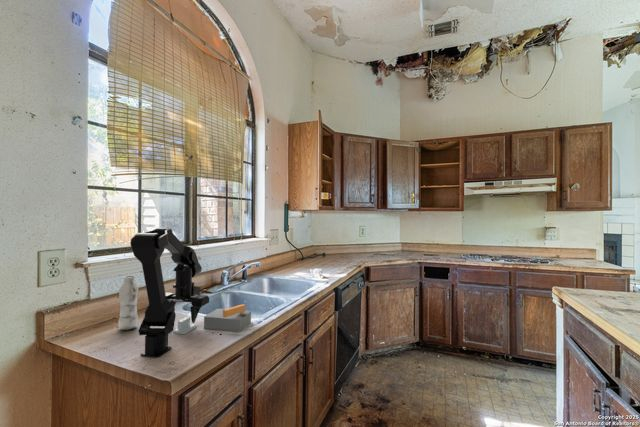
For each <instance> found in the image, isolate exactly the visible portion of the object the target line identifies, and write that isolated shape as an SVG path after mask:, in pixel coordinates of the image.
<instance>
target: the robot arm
mask: <svg viewBox="0 0 640 427" xmlns="http://www.w3.org/2000/svg"><path fill="white" fill-rule="evenodd" d="M129 243H130V245H129V246H130V247H131V250H132V253H133V256H134V257H135V258H136V259H137V260H138V262H140V263H141V266H142V272H143V278H144V283H145V288H146V295H147V300H148V306H147V307H146V309H145V311H144V317H143V320H142V321H141V324H140V326H139V328H138V330H137V331H138V334H139V336H144V351H142V352H141V353H140V356H142V357H150V358H151V357H152V358H159V357H161V356H162V355H164V354H166V353H167V352H169V351H170V350H172V346H169V334H170V333H172V331H173V332H174V328H175V323H176V322H175V321H176V316H177V315H176V312H175V311H176V308H175V306H176V304H177V302H181V303H190V304H191V306H190V307H189V309H190V321H191V324H195V322H196V319H197V317H198V315H199V312H200V311H201V308H202V307H203V306H206V305H207V304H209V303H210V296H208V295H206V294H205V295H204V294H201V289H202V287H201V286H196V285H195V282H194V281H193V278H194V277H197V275H198V276H199V275H200V273H202V270H203V266H202V265H201V264H200V262H199V259H198V256H197V252H196V251H195V249H194V248H193V247H191V246H188V245H184V244H183V243H182V241H180V239H179V238H178V237H177V236H176V235H175V234H174V233H173V229H171V228H169V227H156V228H153V229H151V230H148V231H144V232H137V233H136V234H134V236H132V237H131V239H130V242H129ZM165 249H166V250H167V251H168V252H169V253H170V254H171V256H170V259H171V260H172V262H174V264H176V266H175V267H174V268H173V272H175V276H174V277H175V283H174V284H173V285H172V288H174V289H175V290H174V292H167V291H166V290H165V288H166V287H165V284H164V277H163V271H162V270H163V269H162V265H161V257H162V255H163V253H164V251H165Z"/></svg>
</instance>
